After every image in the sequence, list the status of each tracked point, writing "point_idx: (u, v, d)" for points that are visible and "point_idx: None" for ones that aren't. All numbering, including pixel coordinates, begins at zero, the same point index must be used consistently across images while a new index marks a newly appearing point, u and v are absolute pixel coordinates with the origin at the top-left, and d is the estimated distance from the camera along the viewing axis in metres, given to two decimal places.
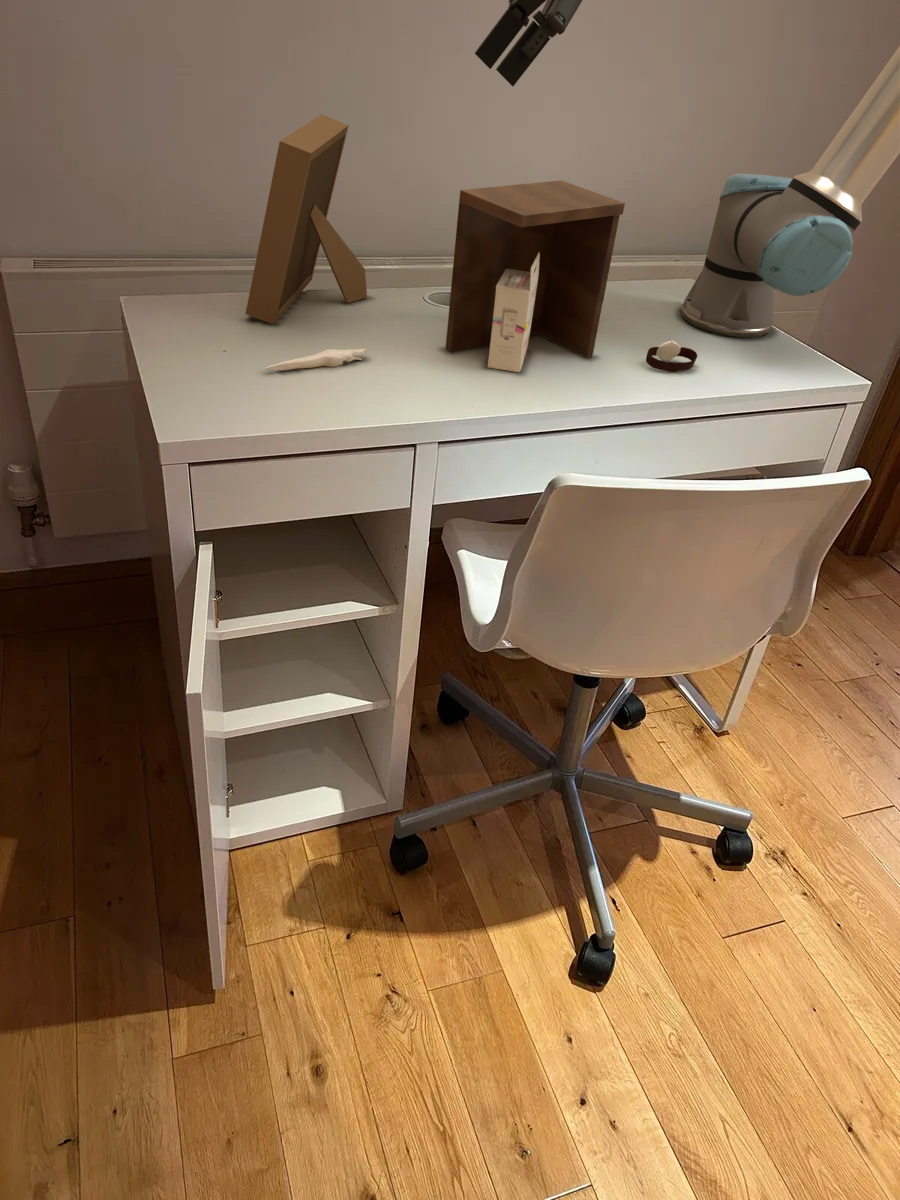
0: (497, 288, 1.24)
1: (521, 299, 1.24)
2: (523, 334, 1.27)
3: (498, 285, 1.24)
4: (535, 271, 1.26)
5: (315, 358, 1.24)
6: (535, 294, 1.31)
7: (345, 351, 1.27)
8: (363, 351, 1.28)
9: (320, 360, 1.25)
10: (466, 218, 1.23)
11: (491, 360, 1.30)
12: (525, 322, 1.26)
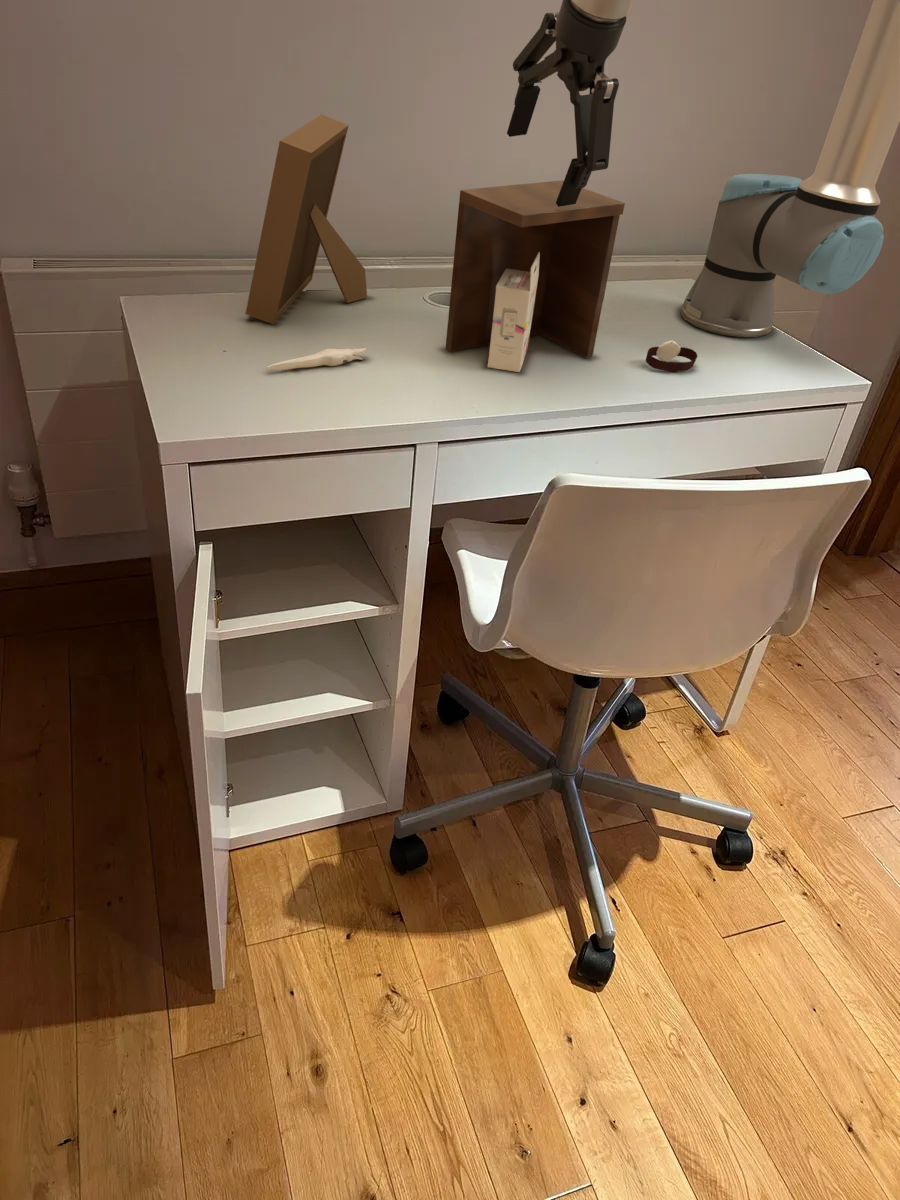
0: (497, 288, 1.24)
1: (521, 299, 1.24)
2: (523, 334, 1.27)
3: (498, 285, 1.24)
4: (535, 271, 1.26)
5: (315, 357, 1.24)
6: (535, 294, 1.31)
7: (345, 351, 1.27)
8: (363, 351, 1.28)
9: (320, 359, 1.25)
10: (466, 218, 1.23)
11: (491, 360, 1.30)
12: (525, 322, 1.26)
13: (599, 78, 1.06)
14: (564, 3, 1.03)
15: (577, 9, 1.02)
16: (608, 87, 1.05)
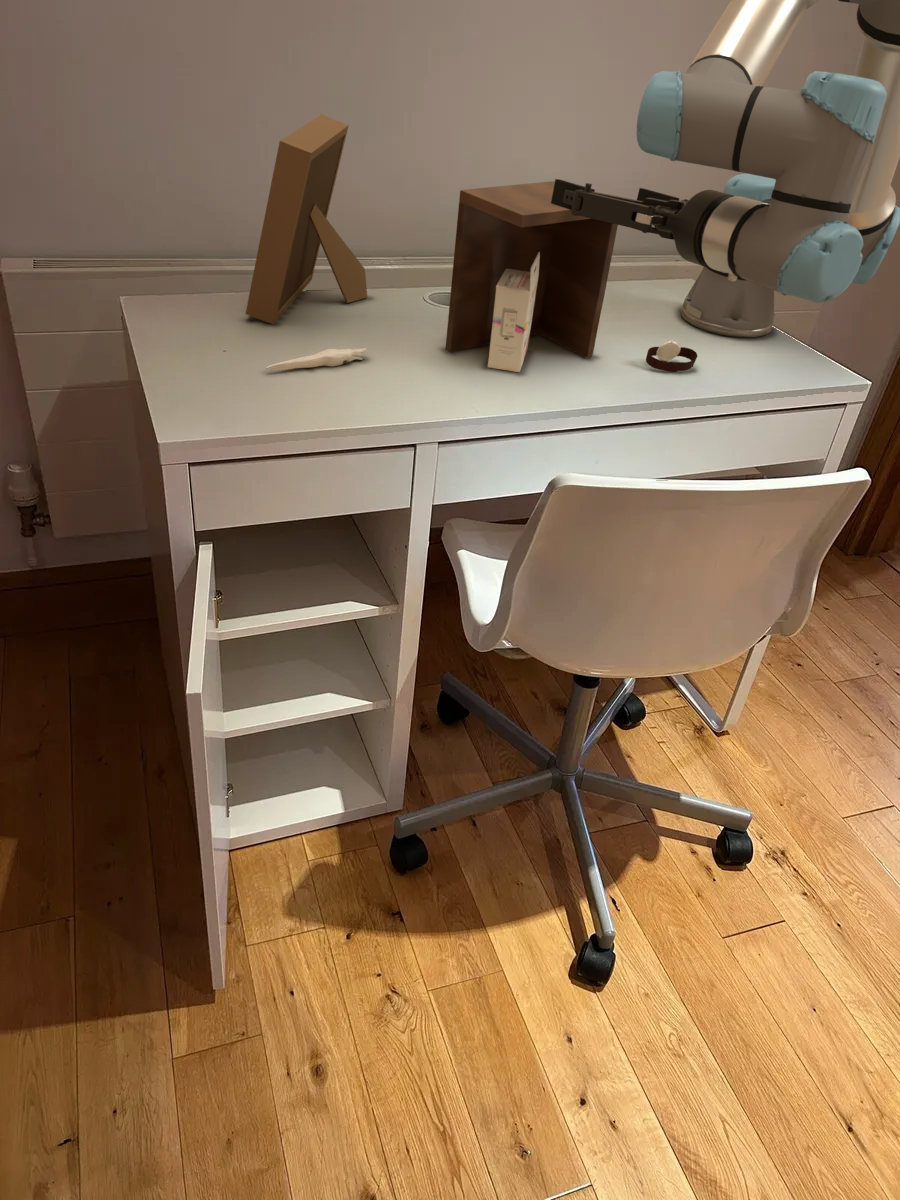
0: (497, 288, 1.24)
1: (521, 299, 1.24)
2: (523, 334, 1.27)
3: (498, 285, 1.24)
4: (535, 271, 1.26)
5: (315, 358, 1.24)
6: (535, 294, 1.31)
7: (345, 351, 1.27)
8: (363, 351, 1.28)
9: (320, 359, 1.25)
10: (466, 218, 1.23)
11: (491, 360, 1.30)
12: (525, 322, 1.26)
13: None
14: (702, 263, 1.00)
15: None
16: None
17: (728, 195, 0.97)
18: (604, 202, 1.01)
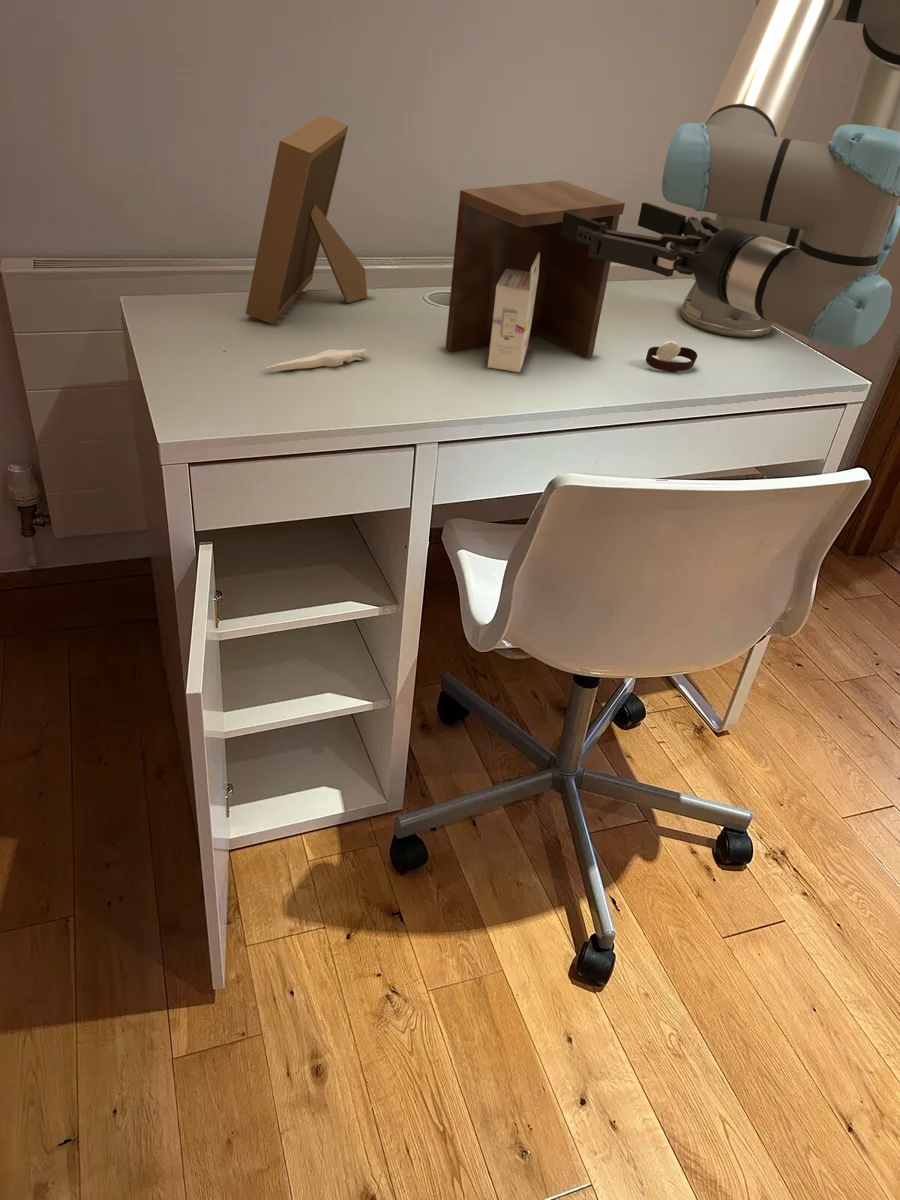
0: (497, 288, 1.24)
1: (521, 299, 1.24)
2: (523, 334, 1.27)
3: (498, 285, 1.24)
4: (535, 271, 1.26)
5: (315, 358, 1.24)
6: (535, 294, 1.31)
7: (345, 351, 1.27)
8: (363, 351, 1.28)
9: (320, 360, 1.25)
10: (466, 218, 1.23)
11: (491, 360, 1.30)
12: (525, 322, 1.26)
13: None
14: (724, 302, 1.01)
15: None
16: None
17: (749, 235, 0.97)
18: (623, 246, 1.00)
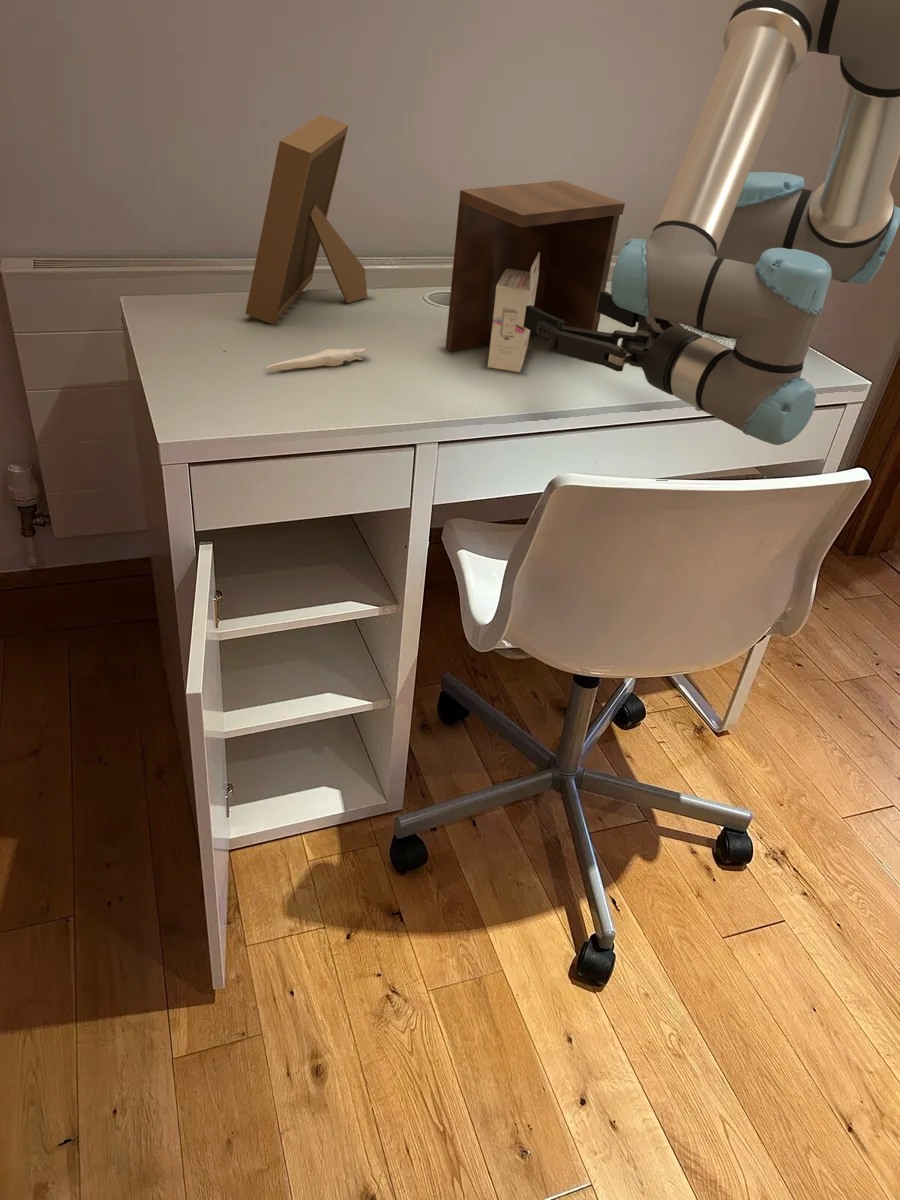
0: (497, 288, 1.24)
1: (521, 299, 1.24)
2: (523, 334, 1.27)
3: (498, 285, 1.24)
4: (535, 271, 1.26)
5: (315, 358, 1.24)
6: (535, 294, 1.31)
7: (345, 351, 1.27)
8: (363, 351, 1.28)
9: (320, 359, 1.25)
10: (466, 218, 1.23)
11: (491, 360, 1.30)
12: None
13: None
14: (670, 393, 1.11)
15: None
16: None
17: (691, 335, 1.07)
18: (578, 343, 1.10)
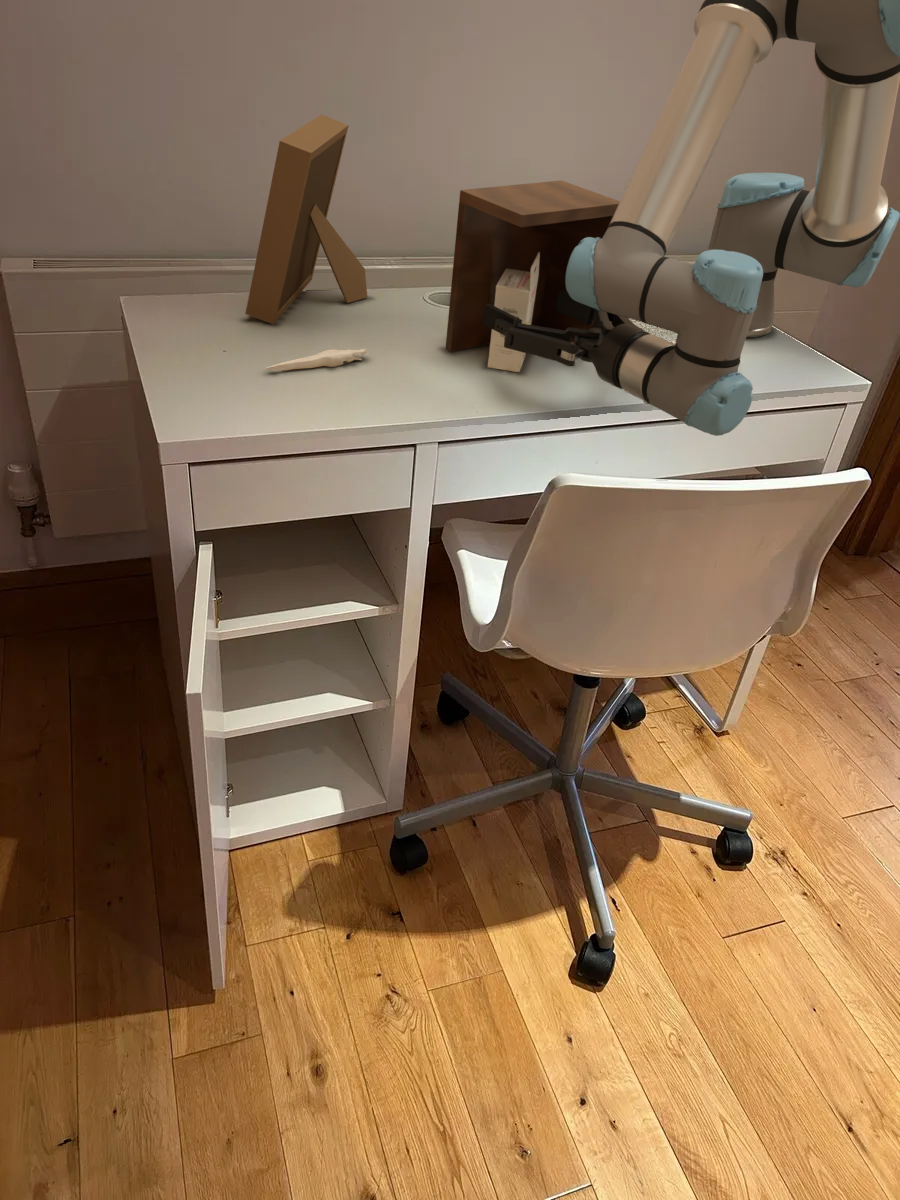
0: (497, 288, 1.24)
1: (521, 299, 1.24)
2: None
3: (498, 285, 1.24)
4: (535, 271, 1.26)
5: (315, 358, 1.24)
6: (535, 294, 1.31)
7: (345, 351, 1.27)
8: (363, 351, 1.28)
9: (320, 360, 1.25)
10: (466, 218, 1.23)
11: (491, 360, 1.30)
12: (525, 322, 1.26)
13: None
14: (620, 387, 1.17)
15: None
16: None
17: (638, 332, 1.13)
18: (532, 339, 1.16)
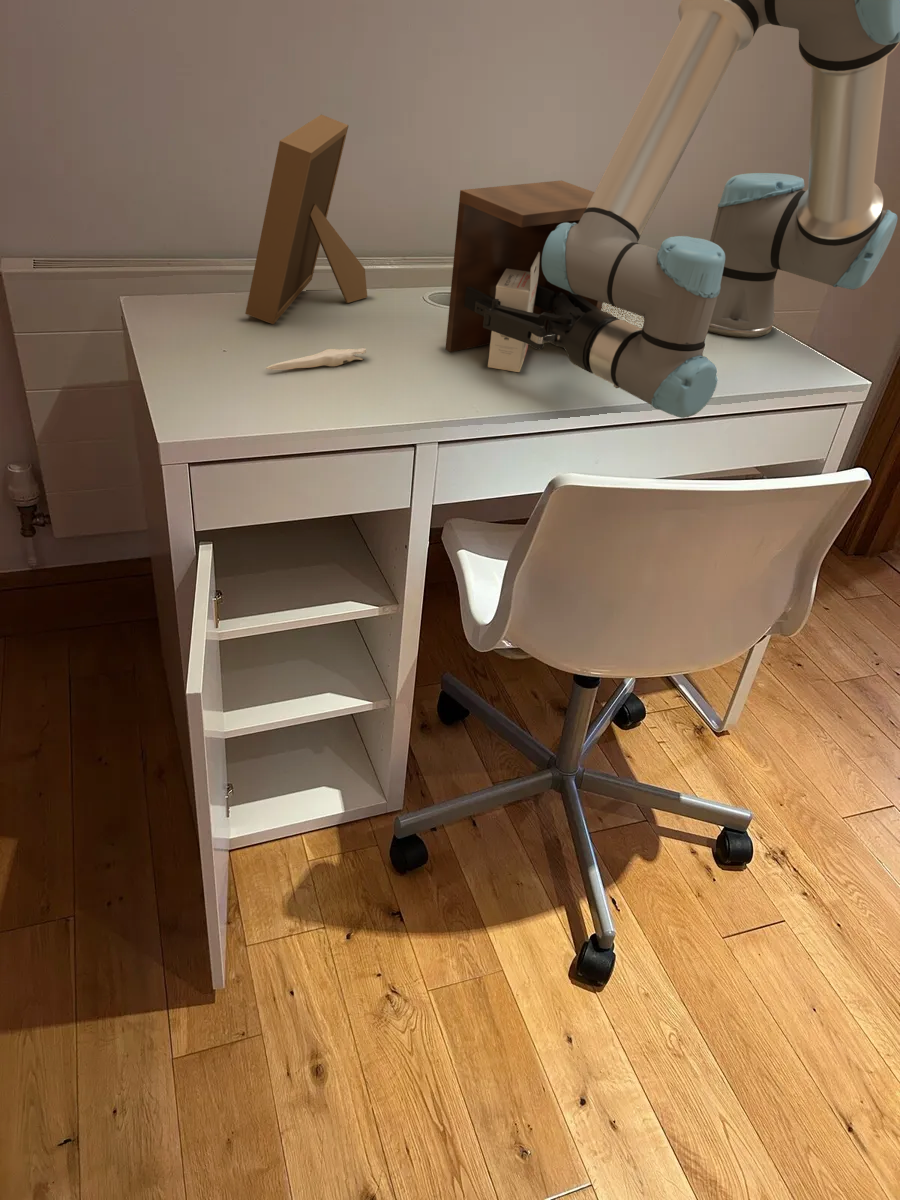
0: (497, 288, 1.24)
1: (521, 299, 1.24)
2: None
3: (498, 285, 1.24)
4: (535, 271, 1.26)
5: (315, 358, 1.24)
6: (535, 294, 1.31)
7: (345, 351, 1.27)
8: (363, 351, 1.28)
9: (320, 359, 1.25)
10: (466, 218, 1.23)
11: (491, 360, 1.30)
12: None
13: None
14: (591, 372, 1.20)
15: None
16: None
17: (608, 318, 1.16)
18: (506, 321, 1.20)
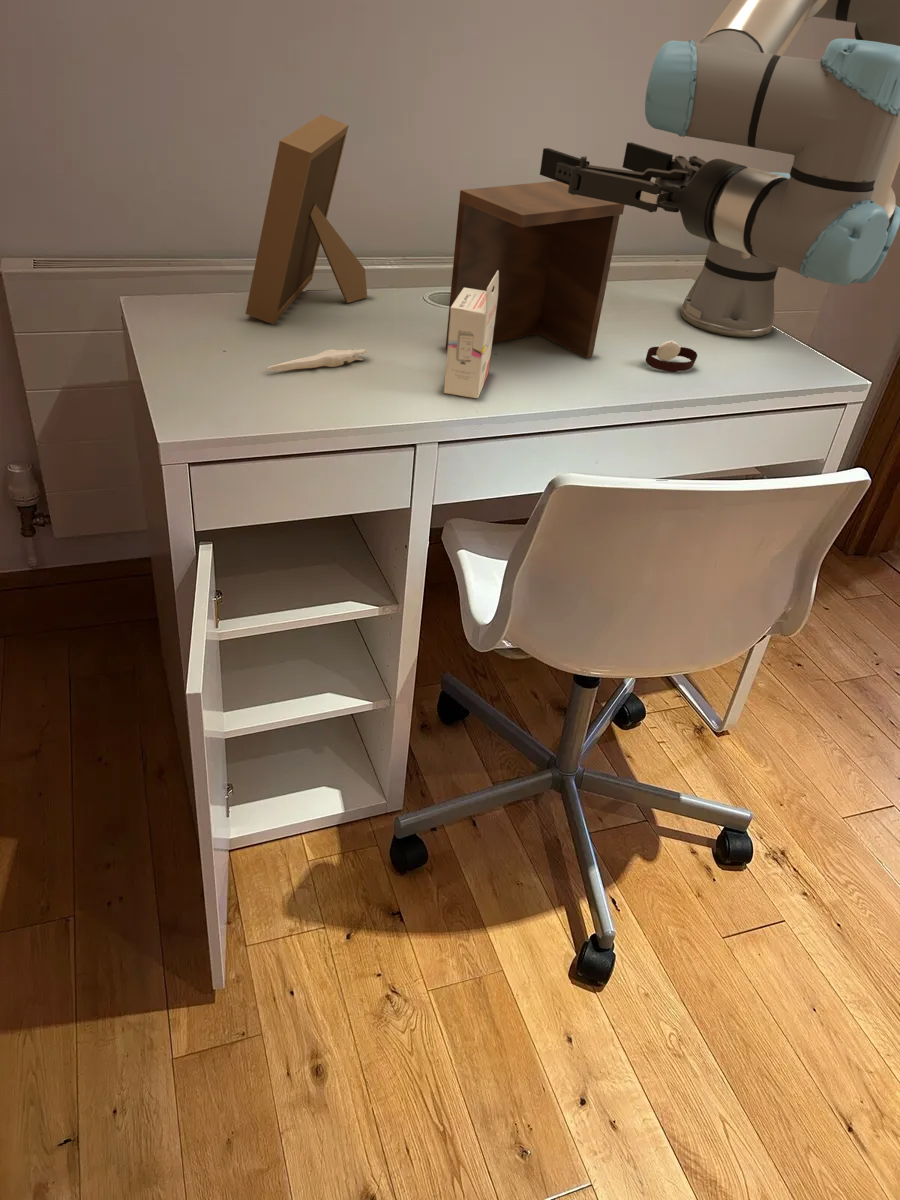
0: (452, 310, 1.16)
1: (477, 321, 1.16)
2: (480, 358, 1.19)
3: (453, 306, 1.16)
4: (493, 291, 1.18)
5: (316, 358, 1.24)
6: (495, 315, 1.23)
7: (346, 351, 1.27)
8: (364, 351, 1.28)
9: (320, 360, 1.24)
10: (466, 218, 1.23)
11: (447, 385, 1.22)
12: (482, 346, 1.18)
13: None
14: (712, 240, 0.95)
15: None
16: None
17: (737, 166, 0.92)
18: (604, 180, 0.95)
